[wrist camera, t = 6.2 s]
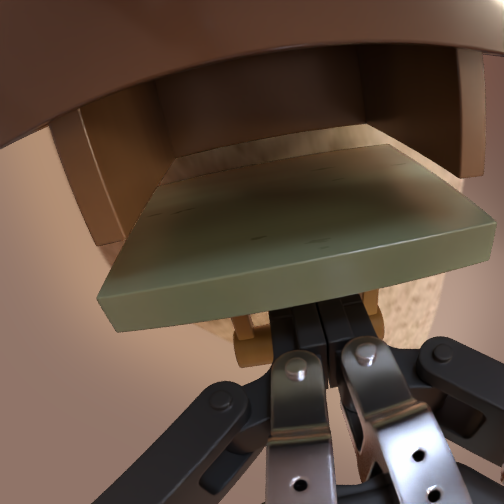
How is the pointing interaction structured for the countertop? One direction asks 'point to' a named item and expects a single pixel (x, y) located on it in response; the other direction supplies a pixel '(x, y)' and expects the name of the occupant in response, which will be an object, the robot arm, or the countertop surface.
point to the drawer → (280, 185)
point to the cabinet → (197, 42)
